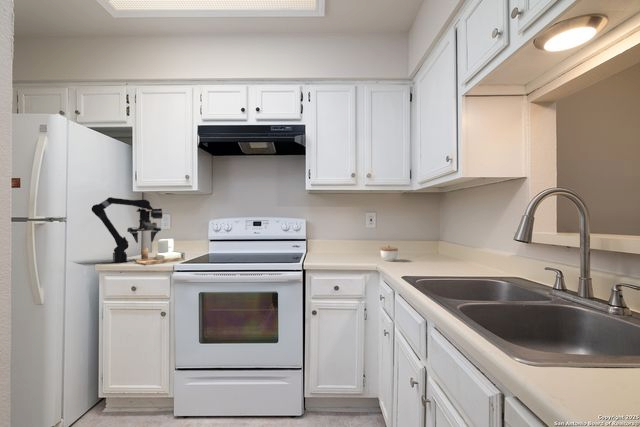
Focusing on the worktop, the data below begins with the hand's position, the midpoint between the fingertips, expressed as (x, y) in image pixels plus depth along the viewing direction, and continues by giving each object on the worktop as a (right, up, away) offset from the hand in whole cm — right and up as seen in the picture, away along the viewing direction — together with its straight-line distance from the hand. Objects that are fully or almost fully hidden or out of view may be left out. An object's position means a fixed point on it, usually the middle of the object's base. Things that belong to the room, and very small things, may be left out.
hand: (144, 242), depth 200 cm
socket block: (+17, -10, -2) cm, 20 cm away
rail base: (+14, -12, -6) cm, 19 cm away
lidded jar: (+159, -11, -7) cm, 159 cm away
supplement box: (+7, -12, +13) cm, 19 cm away
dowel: (0, -12, 0) cm, 12 cm away
